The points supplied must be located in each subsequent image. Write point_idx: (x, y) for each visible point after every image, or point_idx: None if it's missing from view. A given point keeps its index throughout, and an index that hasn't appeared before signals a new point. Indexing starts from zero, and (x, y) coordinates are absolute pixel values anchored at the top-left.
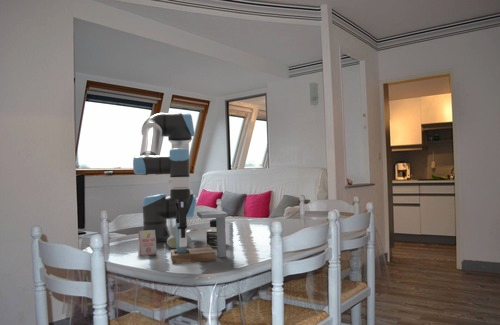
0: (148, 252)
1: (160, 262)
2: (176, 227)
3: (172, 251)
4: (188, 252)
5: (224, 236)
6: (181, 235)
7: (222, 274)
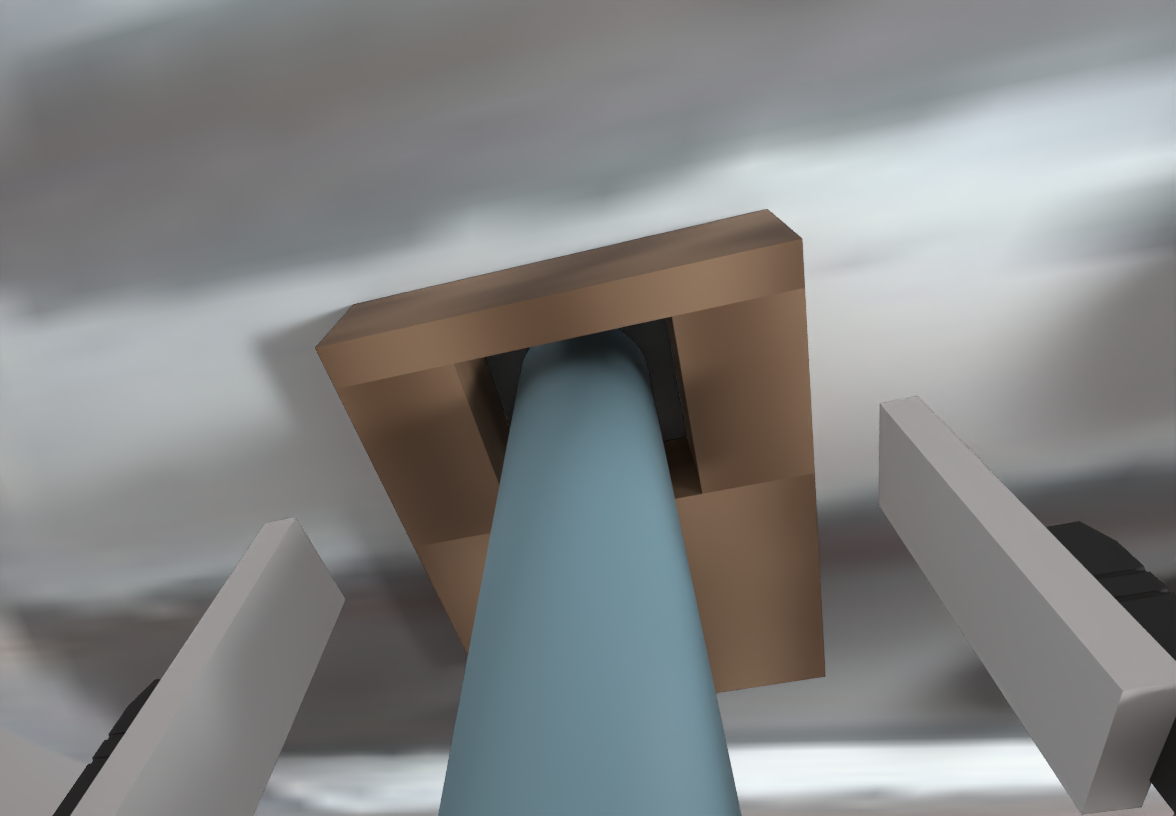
0: None
1: (460, 109)
2: (489, 745)
3: (657, 294)
4: (697, 473)
5: None
6: (112, 729)
7: (25, 713)
